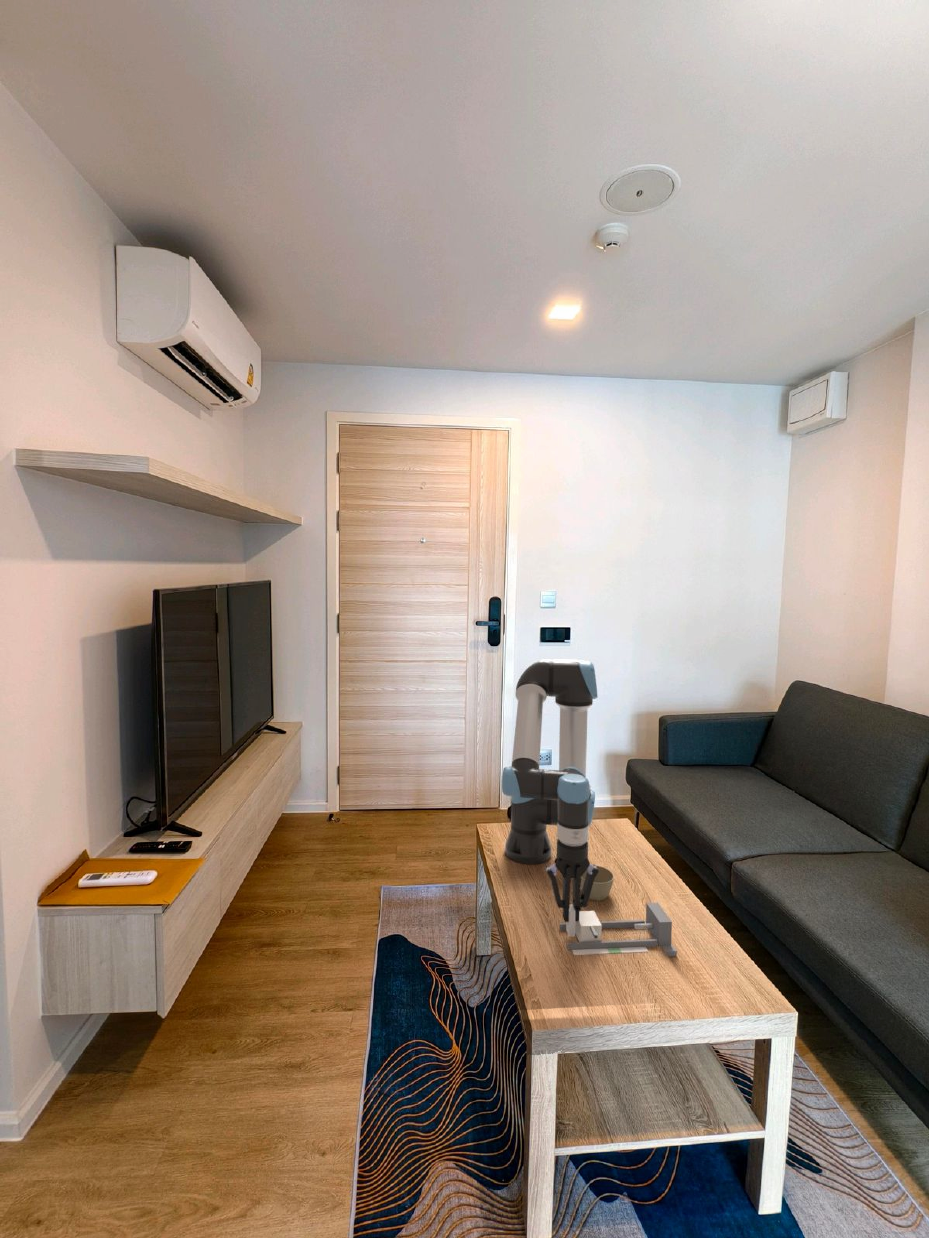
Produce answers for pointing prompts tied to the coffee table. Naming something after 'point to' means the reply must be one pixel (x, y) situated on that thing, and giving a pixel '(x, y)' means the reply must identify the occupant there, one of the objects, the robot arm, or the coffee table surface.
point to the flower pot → (600, 883)
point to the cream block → (588, 927)
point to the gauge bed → (654, 923)
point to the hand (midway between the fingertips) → (570, 932)
